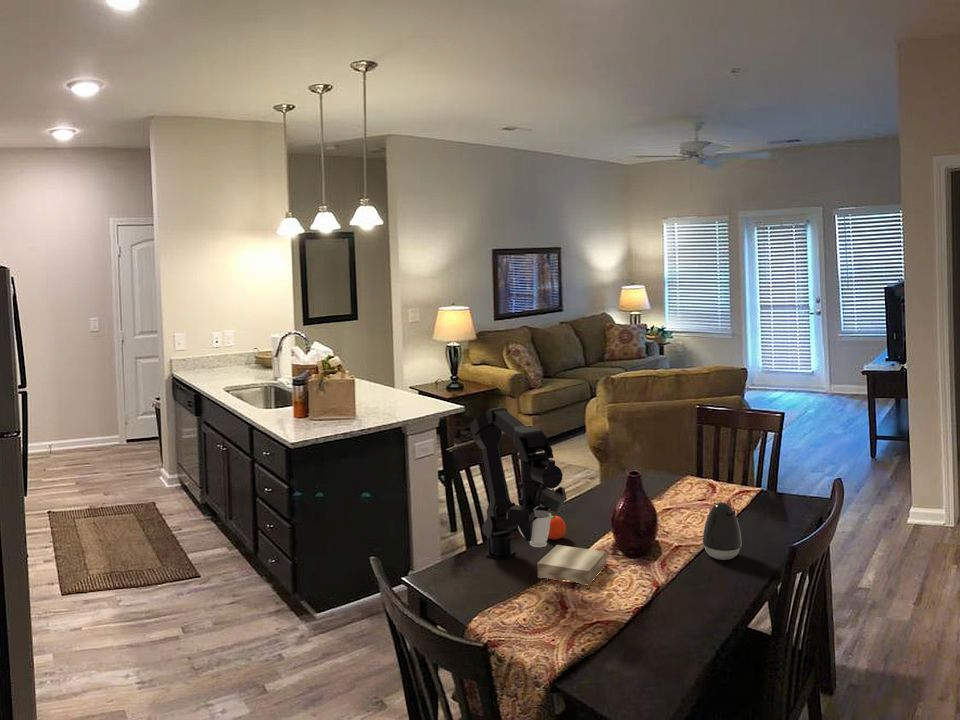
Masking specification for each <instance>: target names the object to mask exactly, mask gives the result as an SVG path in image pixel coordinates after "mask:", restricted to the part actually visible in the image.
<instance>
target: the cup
mask: <svg viewBox="0 0 960 720" xmlns="http://www.w3.org/2000/svg"><path fill="white" fill-rule="evenodd" d="M551 516H552V513H551V512H549V511H548V512H547V511H540V510H535V515H534V517H538V518H537V519H536V520H535V521H534V522H533V525H532V536H531V541H530V542H529V541H527V542H528V543H529V545H530V546H532V548H543V547H546V546H547V544H548V542H547V541H548V539H549V538H548V535H549V529H550V521H551ZM517 529H518V531H519V533H520V534H521V535H522V537H523V538H524V539H525V537H524V535H523V533H522V532H521V530H520V528H519V526H518V528H517Z"/></svg>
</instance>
